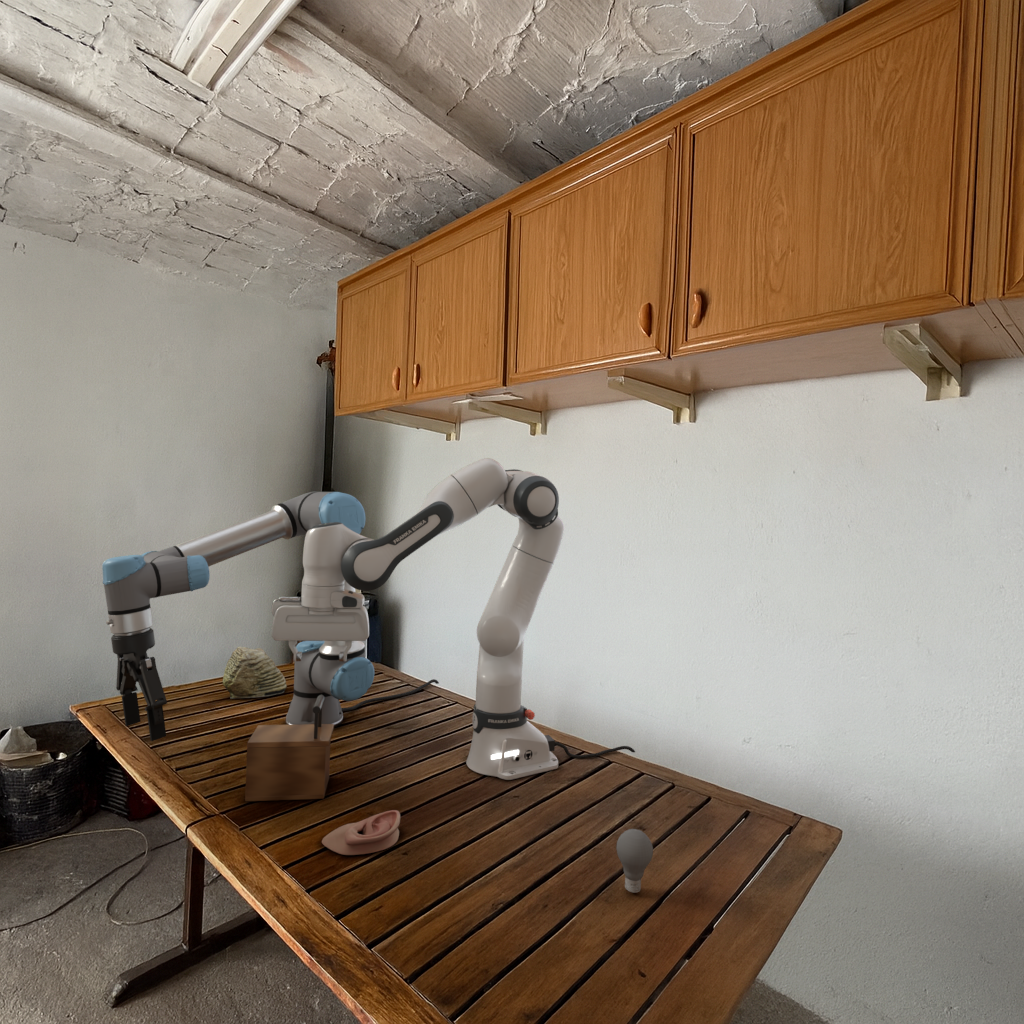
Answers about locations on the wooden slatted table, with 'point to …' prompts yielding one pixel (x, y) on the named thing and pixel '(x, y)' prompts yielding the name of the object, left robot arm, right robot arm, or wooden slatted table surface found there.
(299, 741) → the lid
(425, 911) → the wooden slatted table surface
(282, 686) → the fossil
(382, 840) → the anatomical model
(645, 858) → the light bulb
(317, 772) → the chest
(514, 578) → the right robot arm
